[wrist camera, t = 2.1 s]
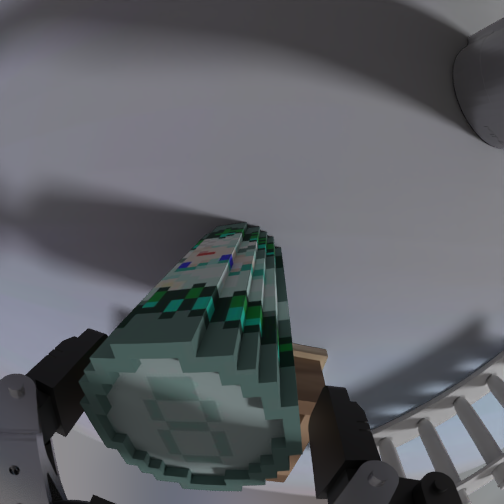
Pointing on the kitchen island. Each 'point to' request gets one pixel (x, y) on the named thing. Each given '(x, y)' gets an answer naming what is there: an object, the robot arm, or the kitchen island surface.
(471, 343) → the kitchen island surface
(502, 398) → the test tube rack
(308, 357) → the sleeve holder
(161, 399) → the can
